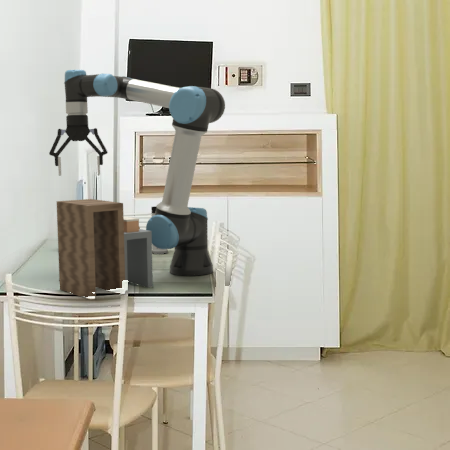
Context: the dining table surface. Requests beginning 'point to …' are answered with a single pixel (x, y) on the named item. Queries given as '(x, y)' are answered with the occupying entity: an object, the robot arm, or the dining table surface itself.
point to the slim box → (131, 224)
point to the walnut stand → (90, 245)
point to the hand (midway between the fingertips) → (79, 175)
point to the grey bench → (138, 257)
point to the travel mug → (154, 249)
